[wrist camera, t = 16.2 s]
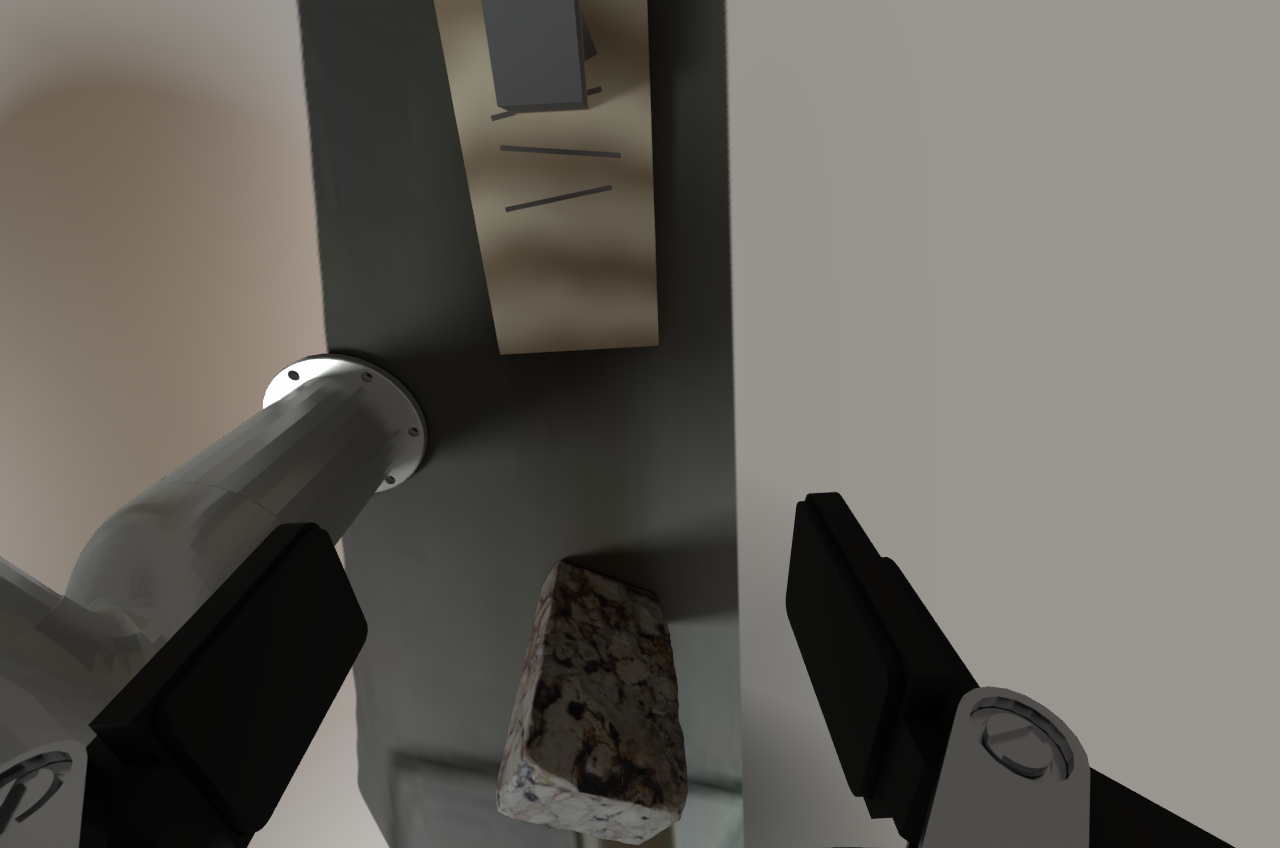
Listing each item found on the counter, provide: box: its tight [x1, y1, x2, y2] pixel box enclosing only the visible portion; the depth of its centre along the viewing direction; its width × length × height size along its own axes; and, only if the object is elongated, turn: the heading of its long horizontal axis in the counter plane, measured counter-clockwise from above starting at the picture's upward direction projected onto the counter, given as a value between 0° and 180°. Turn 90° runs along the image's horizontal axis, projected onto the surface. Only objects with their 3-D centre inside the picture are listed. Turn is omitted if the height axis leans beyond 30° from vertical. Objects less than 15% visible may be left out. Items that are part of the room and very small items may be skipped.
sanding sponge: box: [481, 0, 589, 114], centre depth 27 cm, size 8×4×5 cm, turn 3°
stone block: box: [496, 561, 688, 845], centre depth 43 cm, size 13×7×20 cm, turn 66°
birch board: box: [434, 0, 659, 355], centre depth 33 cm, size 24×12×2 cm, turn 3°
